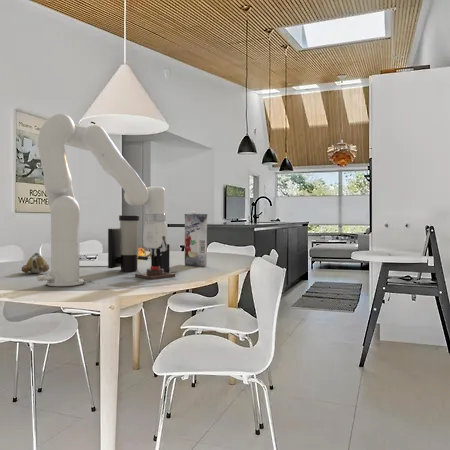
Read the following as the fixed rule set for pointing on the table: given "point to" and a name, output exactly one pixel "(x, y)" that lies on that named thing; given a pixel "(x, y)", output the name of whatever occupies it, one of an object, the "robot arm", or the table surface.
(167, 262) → the switch bracket
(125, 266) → the light fixture
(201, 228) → the juice carton
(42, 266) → the ceramic sculpture
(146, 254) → the switch lever
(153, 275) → the button block
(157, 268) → the button
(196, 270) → the table surface
